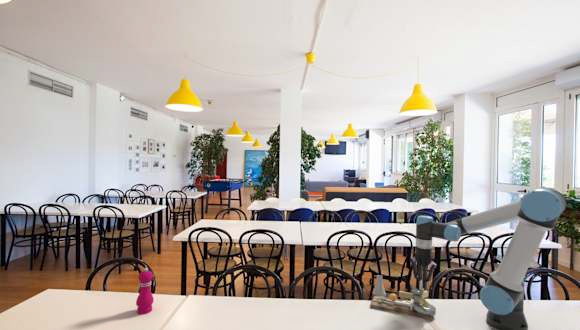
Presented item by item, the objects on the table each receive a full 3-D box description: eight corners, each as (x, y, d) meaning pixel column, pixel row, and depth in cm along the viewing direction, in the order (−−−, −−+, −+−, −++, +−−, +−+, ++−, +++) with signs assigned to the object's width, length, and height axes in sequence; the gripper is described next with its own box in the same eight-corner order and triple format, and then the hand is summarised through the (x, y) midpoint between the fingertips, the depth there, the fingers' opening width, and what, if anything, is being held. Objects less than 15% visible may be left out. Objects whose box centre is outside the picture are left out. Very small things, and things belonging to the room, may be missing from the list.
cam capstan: (397, 303, 147) (397, 287, 147) (412, 297, 155) (413, 281, 155) (428, 318, 134) (429, 300, 134) (443, 310, 141) (444, 293, 141)
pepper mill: (132, 312, 135) (133, 268, 135) (146, 305, 142) (147, 264, 142) (142, 316, 132) (143, 271, 132) (156, 309, 138) (157, 266, 138)
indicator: (412, 303, 148) (412, 294, 148) (412, 310, 141) (412, 300, 141) (389, 299, 152) (390, 289, 152) (388, 305, 145) (388, 296, 145)
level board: (430, 308, 147) (430, 303, 147) (431, 319, 136) (431, 314, 136) (374, 297, 157) (374, 292, 157) (370, 307, 146) (371, 302, 146)
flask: (386, 298, 157) (387, 279, 157) (372, 296, 159) (373, 277, 159) (385, 292, 164) (385, 274, 164) (371, 290, 166) (372, 273, 166)
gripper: (407, 245, 150) (405, 291, 150) (433, 251, 141) (431, 300, 141) (414, 243, 155) (412, 287, 155) (439, 248, 146) (437, 296, 146)
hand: (421, 293), depth 148 cm, fingers closed
